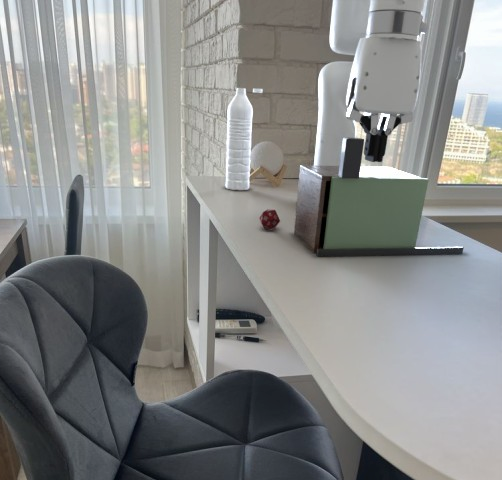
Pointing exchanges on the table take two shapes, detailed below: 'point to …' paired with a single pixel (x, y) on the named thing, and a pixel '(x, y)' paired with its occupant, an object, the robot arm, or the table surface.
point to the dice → (269, 219)
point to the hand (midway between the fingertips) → (373, 160)
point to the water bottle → (239, 141)
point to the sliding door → (372, 206)
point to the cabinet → (316, 208)
